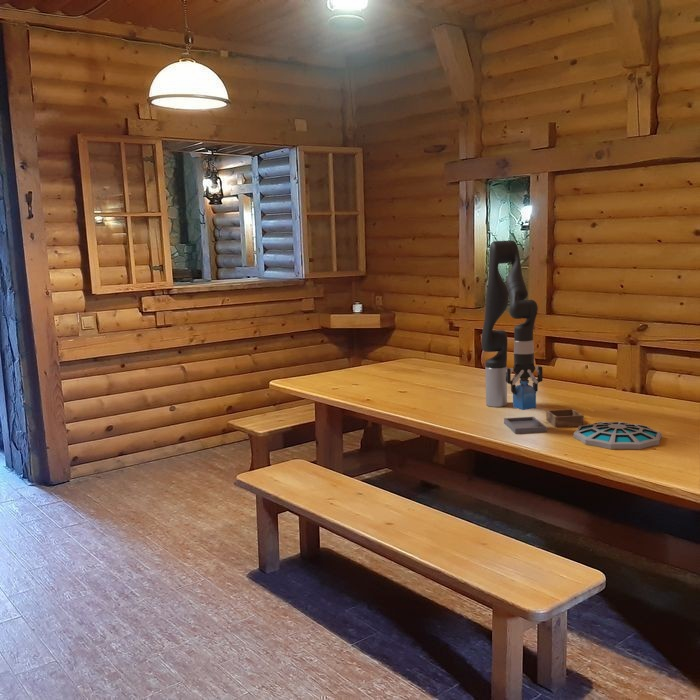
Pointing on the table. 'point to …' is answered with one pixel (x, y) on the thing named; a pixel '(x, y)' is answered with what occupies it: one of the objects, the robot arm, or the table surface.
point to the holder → (564, 418)
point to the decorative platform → (618, 435)
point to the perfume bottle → (524, 396)
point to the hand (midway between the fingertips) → (524, 393)
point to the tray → (524, 425)
